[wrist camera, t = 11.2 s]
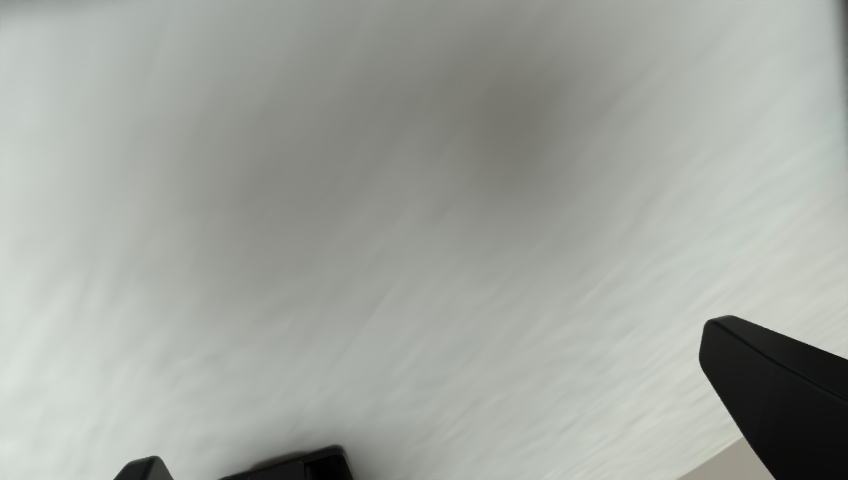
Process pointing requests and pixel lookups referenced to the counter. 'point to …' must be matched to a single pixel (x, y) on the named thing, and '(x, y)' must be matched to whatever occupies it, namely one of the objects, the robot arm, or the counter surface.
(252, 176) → the counter surface
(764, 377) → the robot arm
